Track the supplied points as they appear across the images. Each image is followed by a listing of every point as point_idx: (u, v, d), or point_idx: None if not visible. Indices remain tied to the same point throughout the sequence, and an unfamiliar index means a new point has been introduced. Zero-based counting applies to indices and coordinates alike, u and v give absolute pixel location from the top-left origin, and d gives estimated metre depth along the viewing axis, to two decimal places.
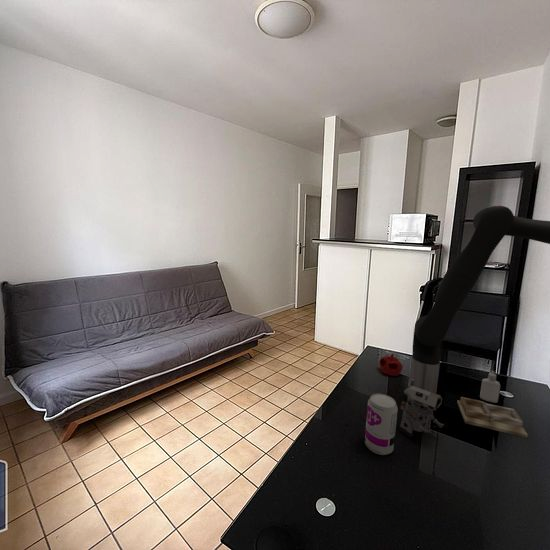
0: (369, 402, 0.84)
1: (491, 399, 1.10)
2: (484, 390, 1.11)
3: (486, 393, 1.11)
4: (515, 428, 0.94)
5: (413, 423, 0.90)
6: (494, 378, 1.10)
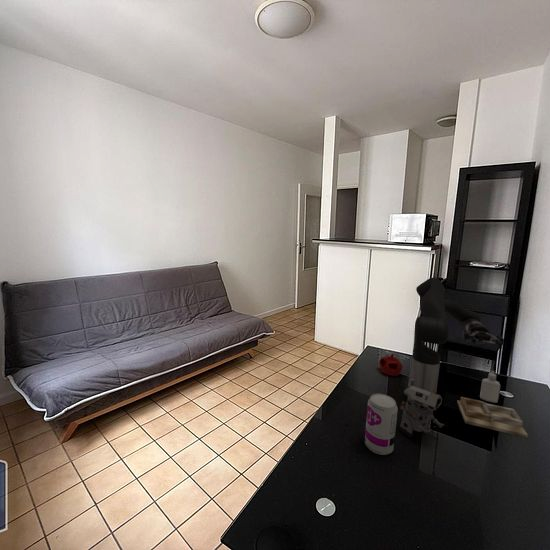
0: (369, 402, 0.84)
1: (491, 399, 1.10)
2: (484, 390, 1.11)
3: (486, 393, 1.11)
4: (515, 428, 0.94)
5: (413, 423, 0.90)
6: (494, 378, 1.10)
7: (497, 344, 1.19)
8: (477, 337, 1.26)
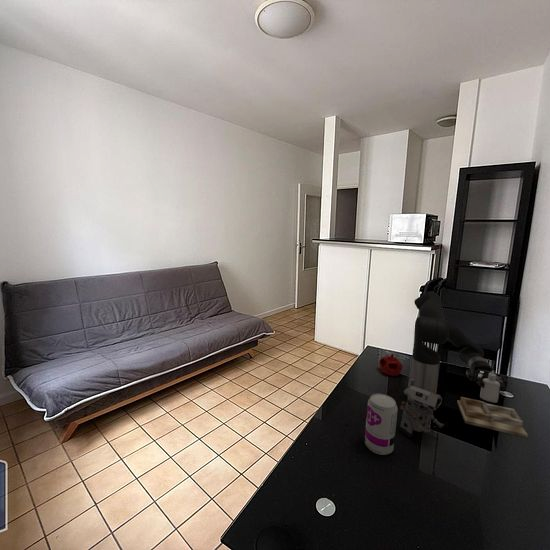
0: (369, 402, 0.84)
1: (491, 399, 1.10)
2: (484, 390, 1.11)
3: (486, 393, 1.11)
4: (515, 428, 0.94)
5: (413, 423, 0.90)
6: (494, 378, 1.10)
7: (500, 388, 1.09)
8: (483, 378, 1.16)
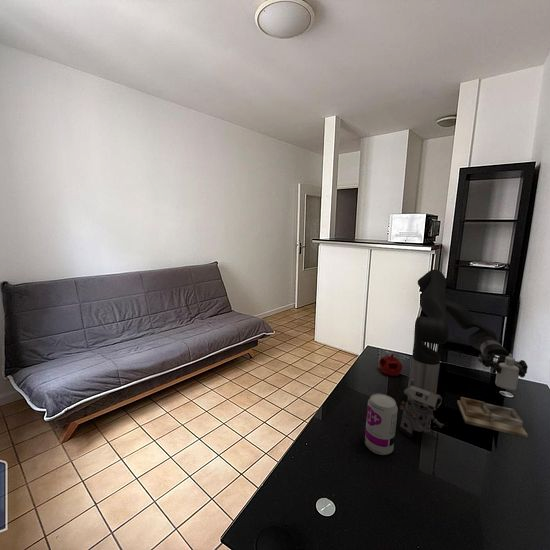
0: (369, 402, 0.84)
1: (509, 386, 0.96)
2: (500, 376, 0.98)
3: (503, 379, 0.97)
4: (515, 428, 0.94)
5: (413, 423, 0.90)
6: (512, 362, 0.96)
7: (519, 373, 0.95)
8: (499, 363, 1.02)
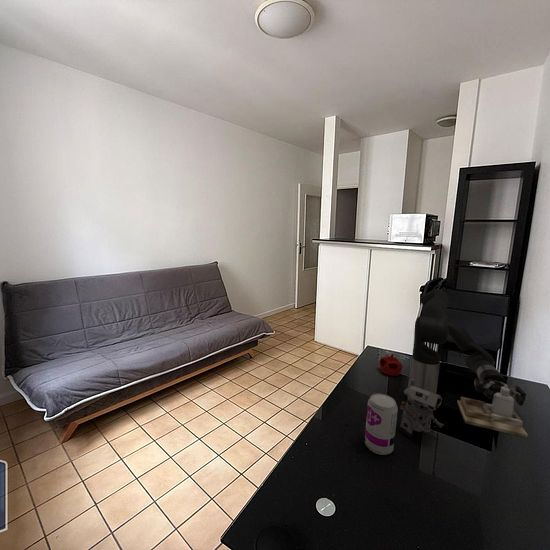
0: (369, 402, 0.84)
1: None
2: (496, 406, 0.99)
3: (499, 409, 0.99)
4: (515, 428, 0.94)
5: (413, 423, 0.90)
6: (507, 393, 0.98)
7: (518, 401, 0.97)
8: (492, 389, 1.04)
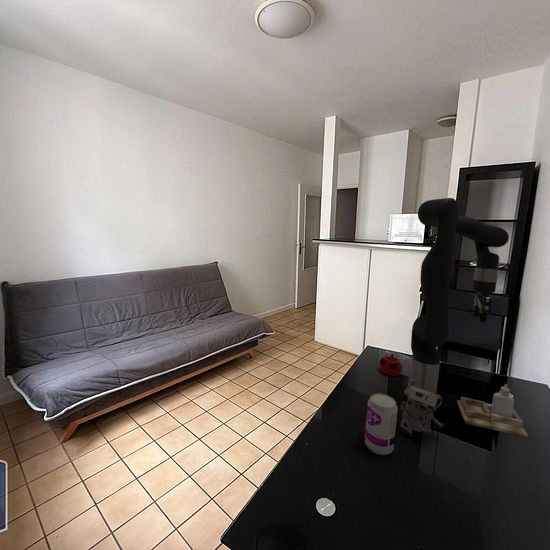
0: (369, 402, 0.84)
1: None
2: (496, 406, 0.99)
3: (499, 409, 0.99)
4: (515, 428, 0.94)
5: (413, 423, 0.90)
6: (507, 393, 0.98)
7: (476, 313, 1.19)
8: None
